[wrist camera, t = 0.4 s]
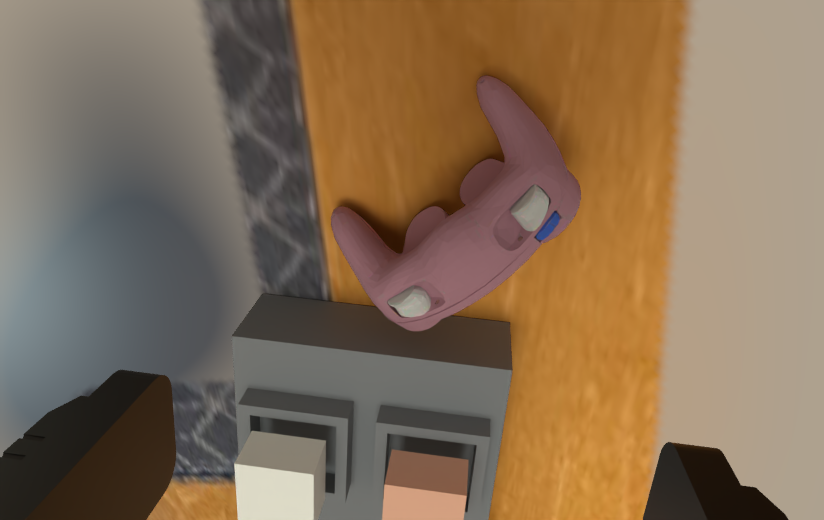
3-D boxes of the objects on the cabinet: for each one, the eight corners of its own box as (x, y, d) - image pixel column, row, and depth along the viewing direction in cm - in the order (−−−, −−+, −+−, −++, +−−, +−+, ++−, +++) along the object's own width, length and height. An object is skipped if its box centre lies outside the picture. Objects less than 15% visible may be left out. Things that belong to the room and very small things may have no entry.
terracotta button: (392, 449, 26) (384, 484, 24) (468, 459, 26) (466, 495, 24) (387, 506, 28) (380, 543, 26) (460, 517, 27) (458, 555, 26)
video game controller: (388, 256, 31) (418, 371, 26) (318, 211, 28) (337, 330, 23) (550, 122, 27) (621, 225, 22) (489, 54, 25) (554, 155, 20)
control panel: (262, 293, 31) (220, 351, 26) (509, 322, 30) (513, 387, 25) (272, 579, 39) (242, 662, 34) (465, 609, 38) (462, 698, 33)
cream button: (251, 430, 27) (234, 463, 25) (326, 440, 27) (313, 474, 25) (254, 487, 28) (238, 522, 26) (325, 497, 28) (313, 534, 26)
